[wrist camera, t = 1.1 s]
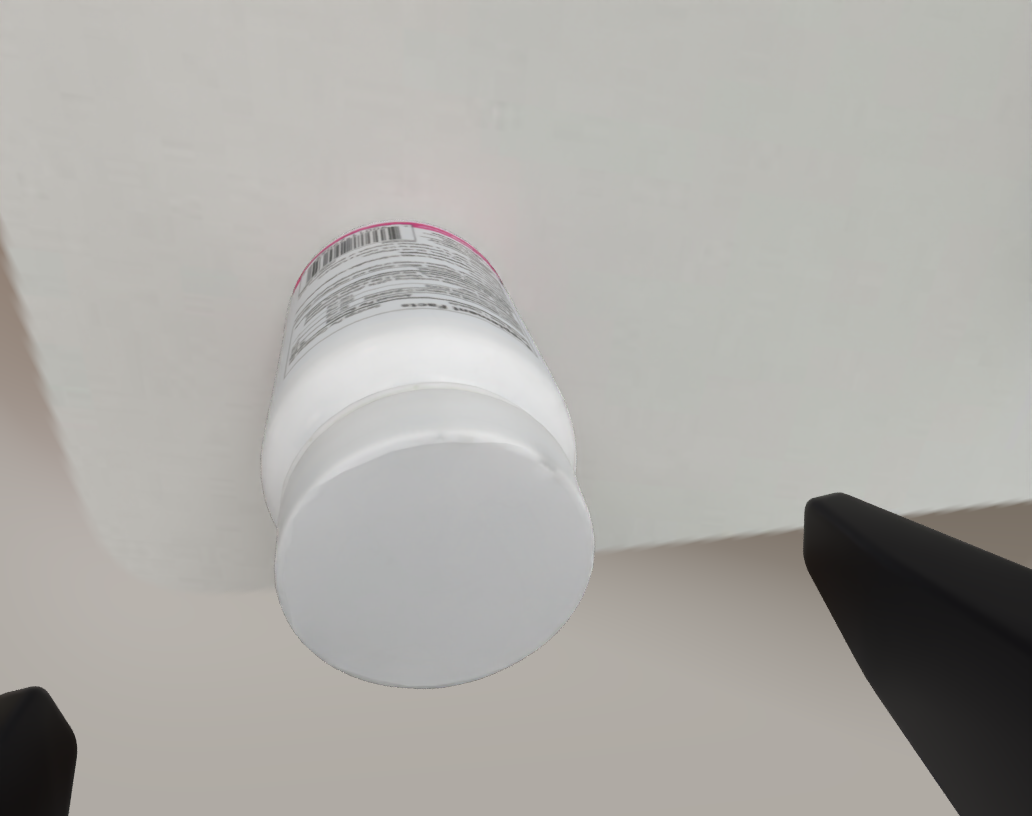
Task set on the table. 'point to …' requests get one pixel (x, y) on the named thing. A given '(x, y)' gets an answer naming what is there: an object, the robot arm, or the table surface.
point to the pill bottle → (419, 466)
